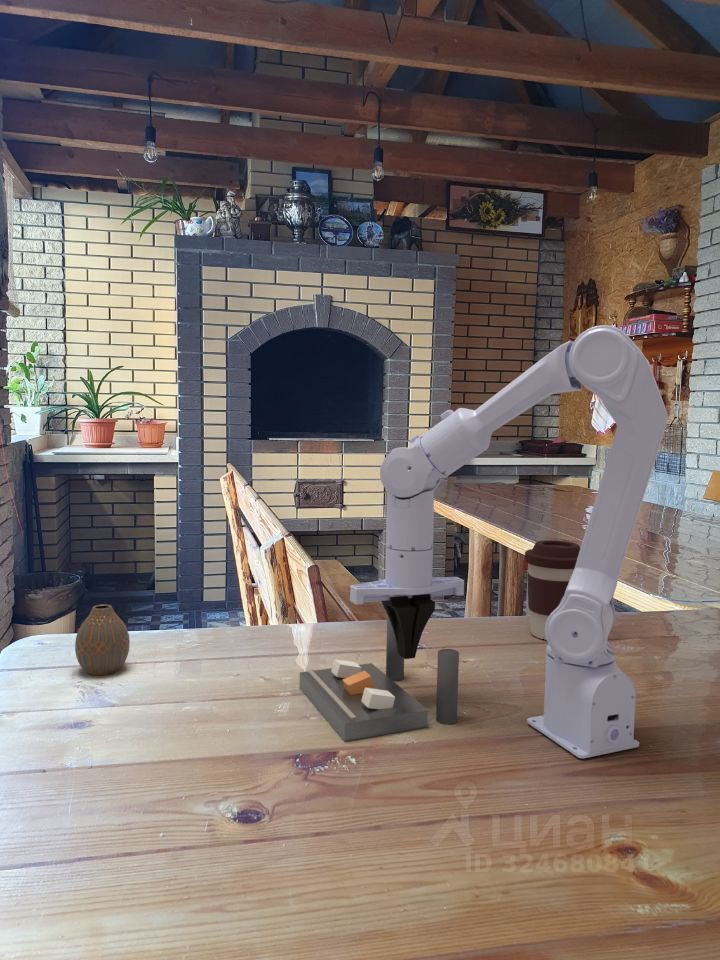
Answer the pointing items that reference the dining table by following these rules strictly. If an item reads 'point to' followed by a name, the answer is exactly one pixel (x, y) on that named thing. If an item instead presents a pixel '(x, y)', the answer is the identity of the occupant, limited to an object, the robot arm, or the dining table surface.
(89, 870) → the dining table surface
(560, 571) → the coffee cup
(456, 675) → the post
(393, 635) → the post
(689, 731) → the dining table surface
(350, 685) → the orange block
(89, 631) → the vase
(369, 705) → the paddle
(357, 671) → the paddle
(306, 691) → the breaker panel
